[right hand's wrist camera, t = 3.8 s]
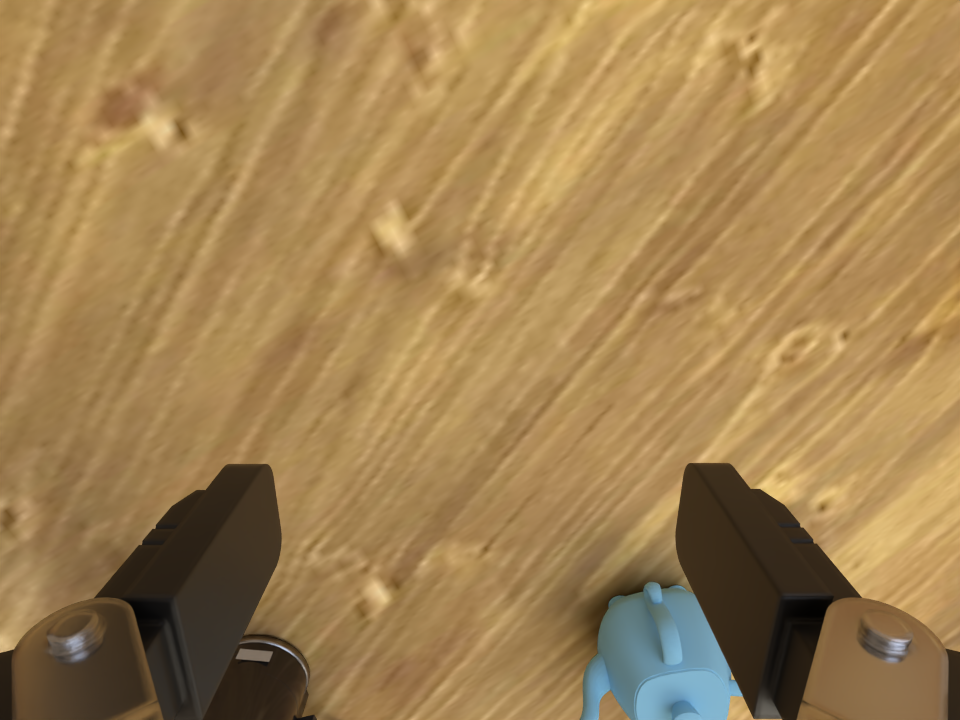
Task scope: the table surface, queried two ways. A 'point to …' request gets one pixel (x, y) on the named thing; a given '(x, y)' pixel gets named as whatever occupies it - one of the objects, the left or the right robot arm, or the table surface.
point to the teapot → (659, 659)
